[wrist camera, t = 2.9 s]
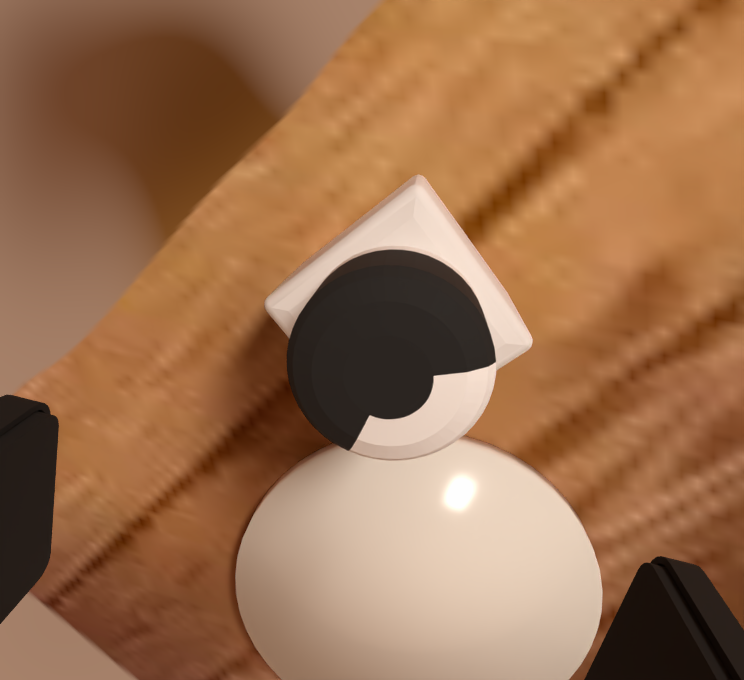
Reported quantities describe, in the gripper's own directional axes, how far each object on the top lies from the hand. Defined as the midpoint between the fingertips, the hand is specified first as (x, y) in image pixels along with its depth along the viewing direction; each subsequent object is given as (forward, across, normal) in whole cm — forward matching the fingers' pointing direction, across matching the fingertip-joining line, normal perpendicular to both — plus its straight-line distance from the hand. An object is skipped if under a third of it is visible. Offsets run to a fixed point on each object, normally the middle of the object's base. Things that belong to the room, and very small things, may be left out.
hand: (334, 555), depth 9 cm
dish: (+19, -6, +17) cm, 26 cm away
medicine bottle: (+19, -1, 0) cm, 19 cm away
